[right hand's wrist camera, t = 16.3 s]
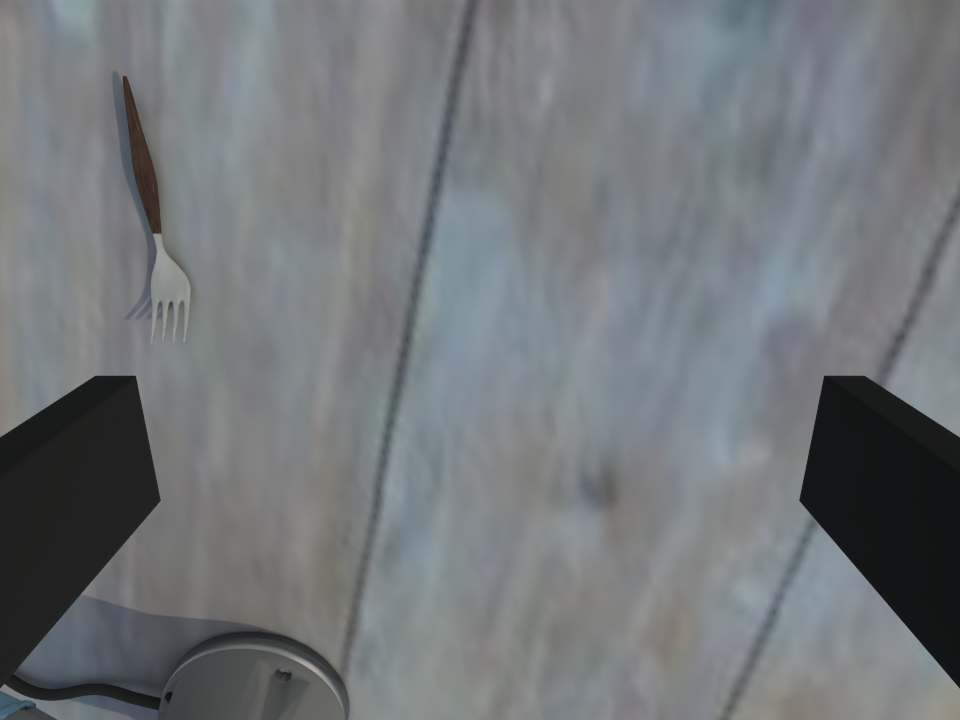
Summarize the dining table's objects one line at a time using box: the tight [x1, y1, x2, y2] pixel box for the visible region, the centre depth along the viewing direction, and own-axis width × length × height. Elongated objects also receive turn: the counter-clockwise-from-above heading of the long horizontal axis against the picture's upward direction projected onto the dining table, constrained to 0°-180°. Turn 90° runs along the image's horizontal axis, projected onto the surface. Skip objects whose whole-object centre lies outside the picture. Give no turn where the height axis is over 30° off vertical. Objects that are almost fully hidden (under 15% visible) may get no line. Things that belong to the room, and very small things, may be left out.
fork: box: [123, 76, 191, 344], centre depth 39 cm, size 3×16×2 cm, turn 2°
